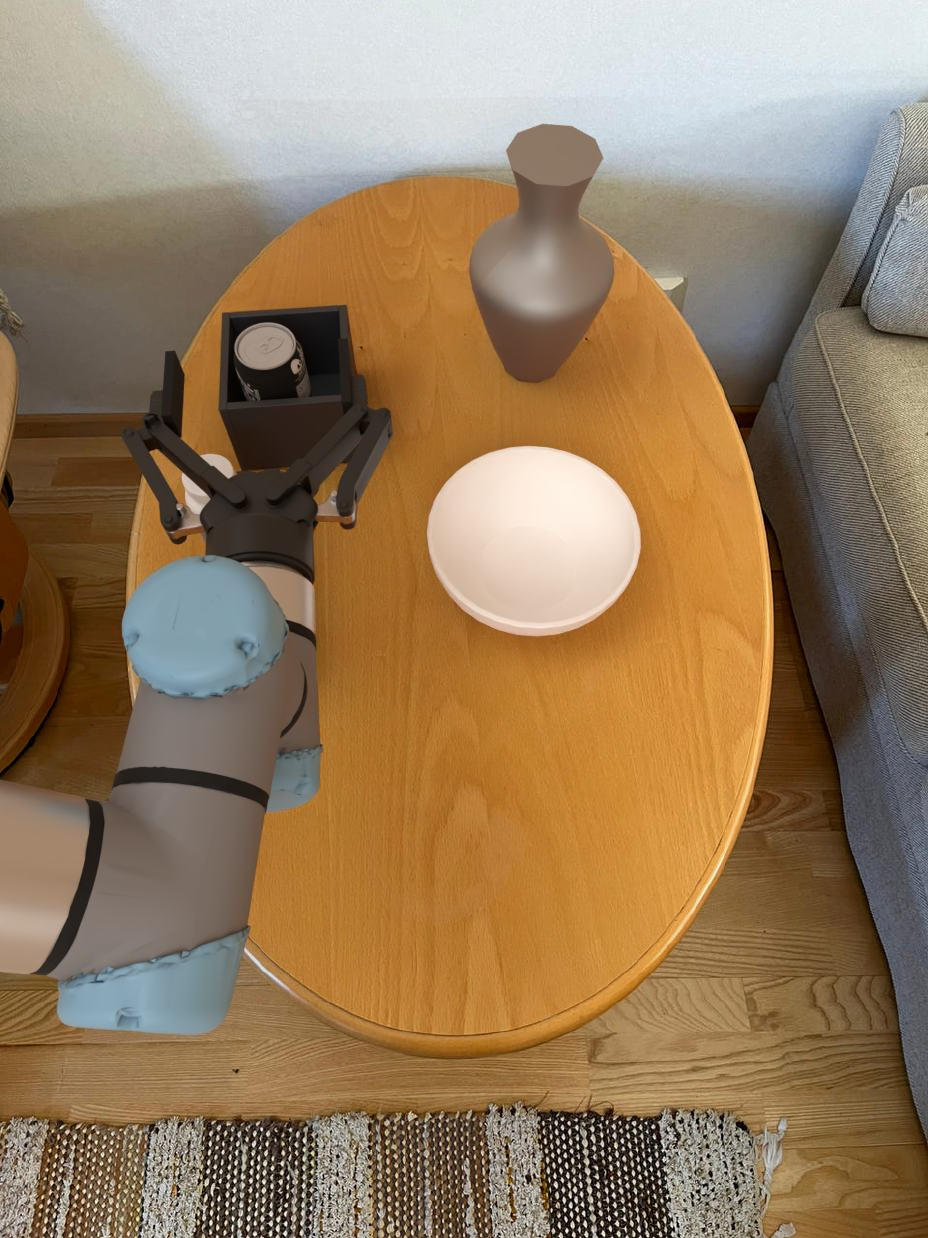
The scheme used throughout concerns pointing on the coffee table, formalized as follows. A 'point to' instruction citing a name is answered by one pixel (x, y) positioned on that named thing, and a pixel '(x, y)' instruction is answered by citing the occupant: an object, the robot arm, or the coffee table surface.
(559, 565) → the bowl
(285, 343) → the beverage can
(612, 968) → the coffee table surface
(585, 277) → the vase
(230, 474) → the pill bottle
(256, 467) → the trash bin
